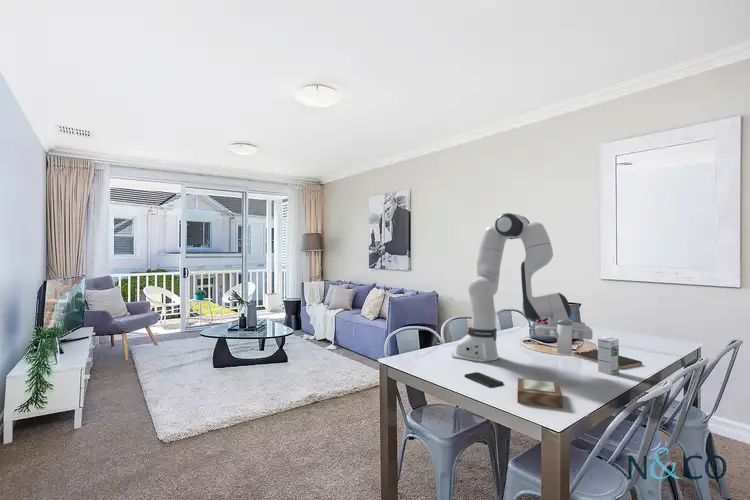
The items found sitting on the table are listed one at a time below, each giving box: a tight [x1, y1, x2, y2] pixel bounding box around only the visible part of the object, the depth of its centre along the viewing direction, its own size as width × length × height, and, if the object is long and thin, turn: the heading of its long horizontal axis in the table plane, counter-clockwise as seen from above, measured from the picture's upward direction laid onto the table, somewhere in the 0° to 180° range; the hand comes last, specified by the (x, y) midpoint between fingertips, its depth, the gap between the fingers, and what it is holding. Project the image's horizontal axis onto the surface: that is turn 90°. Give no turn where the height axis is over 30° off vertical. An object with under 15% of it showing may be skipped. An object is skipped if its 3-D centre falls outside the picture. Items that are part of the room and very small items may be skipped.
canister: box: [556, 319, 573, 355], centre depth 149 cm, size 5×5×12 cm
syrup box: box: [597, 336, 620, 376], centre depth 168 cm, size 6×6×14 cm
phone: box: [464, 371, 504, 388], centre depth 157 cm, size 8×1×15 cm
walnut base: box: [516, 377, 564, 409], centre depth 139 cm, size 14×14×4 cm
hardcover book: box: [573, 349, 643, 370], centre depth 186 cm, size 16×23×2 cm
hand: (564, 335), depth 148 cm, fingers closed on canister, 5 cm apart
